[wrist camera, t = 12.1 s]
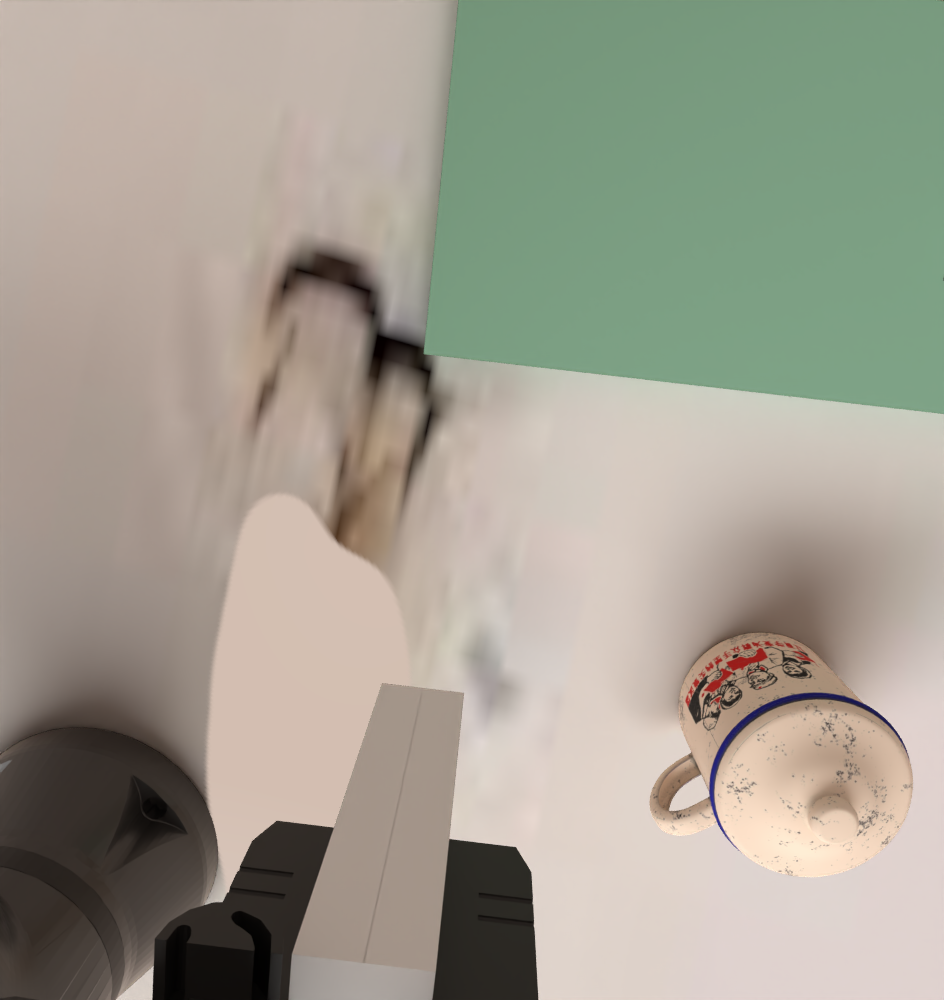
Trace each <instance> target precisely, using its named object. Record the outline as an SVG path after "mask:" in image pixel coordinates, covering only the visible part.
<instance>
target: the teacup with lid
mask: <svg viewBox="0 0 944 1000" xmlns="http://www.w3.org/2000/svg"><path fill="white" fill-rule="evenodd" d="M679 719H680V724H681V728H682V731H683V733H684V736H685V738H686V741H687V743H688V745H689V747H690V750H691V753H690V754H688V755H687V756H685V757H683V758H681V759H680V760H678V761H676V762H675V763H674V764H672V765H671V766H670V767H668V768H667V769H666V770H665V771H664V772H663V773H662V774H661V775H660V777H659V778H658V780H657V781H656V783H655V785H654V787H653V789H652V792H651V796H650V811H651V814H652V816H653V818H654V820H655V822H656V823H657V825H658V826H659V827H660V828H661V829H662V830H663V831H664V832H666V833H668V834H671V835H689V834H693V833H697V832H699V831H702V830H704V829H706V828H708V827H710V826H712V825H714V824H716V823H718V825H719V827H720V829H721V830H722V832H723V833H724V835H725V836H726V837H727V839H728V840H729V841H730V842H731V843H732V844H733V845H734V846H735V847H736V848H737V849H738V850H739V851H740V852H742V853H743V854H744V855H745V856H747V857H748V858H749V859H751V860H752V861H754V862H756V863H757V864H759V865H761V866H763V867H765V868H768V869H770V870H773V871H775V872H779V873H782V874H786V875H792V876H799V877H821V876H828V875H833V874H837V873H841V872H844V871H847V870H850V869H852V868H854V867H857V866H859V865H861V864H863V863H864V862H866V861H868V860H869V859H871V858H872V857H874V856H875V855H876V854H878V853H879V852H880V851H881V850H882V849H883V848H884V847H886V846H887V845H888V843H889V842H890V841H891V840H892V839H893V838H894V836H895V835H896V834H897V832H898V831H899V829H900V827H901V826H902V824H903V822H904V820H905V818H906V815H907V813H908V810H909V807H910V802H911V798H912V790H913V777H912V769H911V764H910V760H909V756H908V753H907V750H906V748H905V745H904V743H903V741H902V739H901V738H900V736H899V735H898V733H897V732H896V730H895V729H894V728H893V726H892V725H891V724H890V723H889V722H888V721H887V720H886V719H885V718H884V717H883V716H882V715H880V714H879V713H878V712H877V711H875V710H874V709H872V708H870V707H869V706H867V705H865V704H863V703H862V702H861V701H860V699H859V698H858V697H857V696H856V695H855V694H854V693H853V692H852V691H851V690H850V689H849V688H848V687H847V686H846V685H845V684H844V683H843V682H842V681H841V680H840V679H839V677H838V676H837V675H836V674H835V673H834V672H833V671H832V670H831V669H830V668H829V667H828V666H827V665H826V664H825V663H824V662H823V661H822V660H821V659H820V658H819V657H818V656H817V655H816V654H815V653H814V652H813V651H812V650H811V649H810V648H808V647H807V646H805V645H804V644H802V643H800V642H798V641H796V640H794V639H792V638H789V637H786V636H783V635H779V634H773V633H749V634H743V635H739V636H735V637H732V638H730V639H727V640H725V641H723V642H721V643H719V644H717V645H715V646H714V647H712V648H711V649H710V650H708V651H707V652H706V653H705V654H703V655H702V656H701V657H700V658H699V659H698V660H697V661H696V663H695V664H694V665H693V667H692V668H691V670H690V671H689V673H688V674H687V676H686V678H685V680H684V683H683V686H682V688H681V692H680V697H679ZM701 774H702V777H703V779H704V781H705V783H706V786H707V788H708V790H709V794H710V797H708V798H707V799H705V800H703V801H701V802H699V803H697V804H695V805H693V806H691V807H689V808H686V809H683V810H679V811H669V807H670V804H671V801H672V799H673V797H674V796H675V794H676V793H677V792H678V790H679V789H680V788H681V787H683V786H684V785H685V784H686V783H688V782H689V781H691V780H693V779H694V778H696V777H698V776H700V775H701Z"/></svg>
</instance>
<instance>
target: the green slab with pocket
mask: <svg viewBox="0 0 944 1000" xmlns="http://www.w3.org/2000/svg"><path fill="white" fill-rule="evenodd" d="M424 354H428V355H437V356H446V357H454V358H463V359H472V360H480V361H489V362H498V363H506V364H515V365H524V366H532V367H541V368H550V369H558V370H567V371H576V372H584V373H593V374H602V375H611V376H619V377H628V378H637V379H645V380H654V381H663V382H671V383H680V384H689V385H697V386H706V387H715V388H723V389H732V390H741V391H749V392H758V393H767V394H775V395H784V396H793V397H802V398H810V399H819V400H828V401H836V402H845V403H854V404H862V405H871V406H880V407H888V408H897V409H906V410H914V411H923V412H932V413H940V414H944V1H941V0H458V10H457V20H456V30H455V41H454V51H453V61H452V71H451V81H450V92H449V102H448V112H447V122H446V132H445V143H444V153H443V163H442V173H441V183H440V194H439V204H438V214H437V224H436V234H435V245H434V255H433V265H432V275H431V285H430V295H429V306H428V316H427V326H426V336H425V346H424Z"/></svg>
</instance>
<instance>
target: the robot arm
mask: <svg viewBox="0 0 944 1000" xmlns="http://www.w3.org/2000/svg"><path fill="white" fill-rule="evenodd" d="M463 698H464V693H460V692H451V691H443V690H435V689H426V688H418V687H410V686H401V685H393V684H384V683H382V685H381V688H380V691H379V694H378V697H377V700H376V703H375V706H374V709H373V712H372V715H371V718H370V721H369V724H368V727H367V730H366V733H365V736H364V739H363V742H362V745H361V748H360V751H359V754H358V757H357V760H356V763H355V766H354V769H353V772H352V775H351V778H350V781H349V784H348V787H347V790H346V793H345V796H344V799H343V802H342V805H341V809H340V811H339V814H338V817H337V820H336V823H335V826H334V828H332V827H323V826H316V825H307V824H299V823H291V822H282V821H276V822H275V823H274V824H272V825H271V826H270V827H269V828H268V829H266V830H265V831H264V832H263V833H261V834H260V835H259V836H258V837H256V838H255V839H254V840H253V841H252V843H251V845H250V847H249V849H248V851H247V853H246V855H245V857H244V859H243V862H242V864H241V866H240V870H239V871H238V872H237V874H236V876H235V878H234V880H233V882H232V884H231V886H230V890H229V893H227V895H226V897H225V899H224V901H223V902H215V903H211V904H207V905H204V903H205V902H206V900H207V898H208V895H209V893H210V891H211V889H212V886H213V883H214V879H215V876H216V870H217V862H218V846H217V838H216V832H215V828H214V824H213V821H212V818H211V816H210V813H209V811H208V808H207V806H206V804H205V802H204V800H203V799H202V797H201V795H200V794H199V792H198V791H197V789H196V788H195V786H194V785H193V784H192V783H191V781H190V780H189V779H188V778H187V777H186V776H185V774H184V773H183V772H182V771H181V770H180V769H179V768H178V767H176V766H175V765H174V764H173V763H172V762H171V761H169V760H168V759H167V758H166V757H164V756H163V755H161V754H160V753H159V752H157V751H155V750H154V749H152V748H151V747H149V746H147V745H145V744H143V743H141V742H139V741H137V740H134V739H132V738H129V737H127V736H124V735H121V734H117V733H114V732H110V731H105V730H100V729H92V728H63V729H56V730H51V731H46V732H43V733H39V734H36V735H34V736H31V737H28V738H26V739H24V740H22V741H20V742H18V743H17V744H15V745H13V746H12V747H10V748H9V749H7V750H6V751H5V752H3V753H2V754H1V755H0V1000H116V999H117V998H118V997H119V996H120V995H121V994H122V993H123V992H125V991H126V990H127V989H128V988H129V987H130V986H131V985H133V984H134V983H135V982H136V981H137V980H138V979H139V978H141V977H142V976H143V975H144V974H145V973H146V972H147V971H148V970H149V969H150V968H151V967H153V966H154V972H153V1000H538V986H537V968H536V949H535V931H534V913H533V904H532V902H533V894H532V876H531V871H530V869H529V868H528V866H527V864H526V863H525V861H524V860H523V858H522V856H521V855H520V853H519V851H518V850H517V848H516V847H509V846H501V845H493V844H485V843H476V842H468V841H460V840H452V839H449V836H450V826H451V816H452V806H453V796H454V787H455V777H456V767H457V757H458V747H459V737H460V728H461V718H462V708H463ZM203 905H204V906H203Z"/></svg>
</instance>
